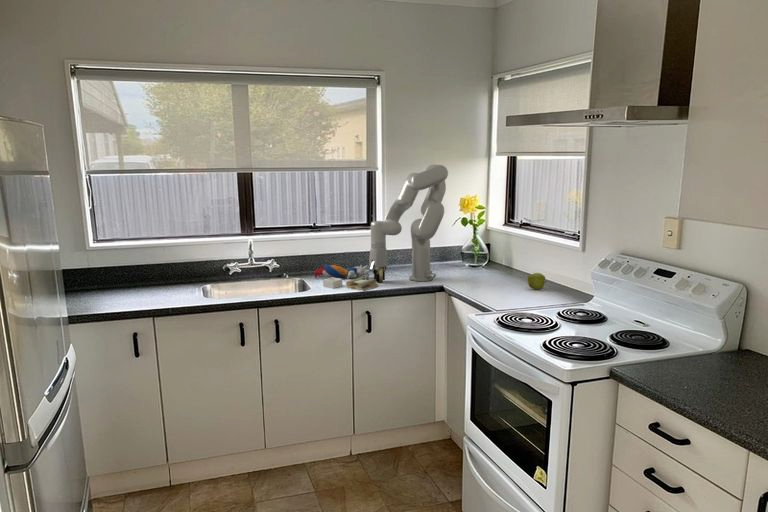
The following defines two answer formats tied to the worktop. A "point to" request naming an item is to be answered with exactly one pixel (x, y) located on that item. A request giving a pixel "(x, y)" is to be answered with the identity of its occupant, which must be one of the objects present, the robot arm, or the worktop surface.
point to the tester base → (361, 284)
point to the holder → (332, 282)
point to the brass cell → (380, 274)
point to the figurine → (342, 271)
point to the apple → (536, 281)
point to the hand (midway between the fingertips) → (379, 280)
